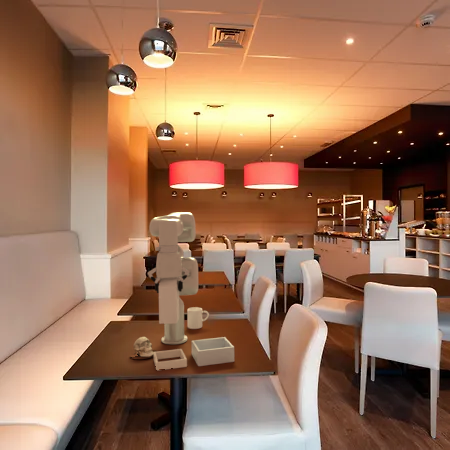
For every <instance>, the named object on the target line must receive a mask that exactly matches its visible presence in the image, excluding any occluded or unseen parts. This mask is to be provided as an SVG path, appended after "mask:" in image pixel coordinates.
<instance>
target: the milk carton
mask: <svg viewBox="0 0 450 450" xmlns="http://www.w3.org/2000/svg"><path fill="white" fill-rule="evenodd" d="M158 283H159V293H158V324H160V325H161V324H174V323H177V322H178V320H179V297H180V295H179V282H178V277H177V278H160V280H159V281H158Z"/></svg>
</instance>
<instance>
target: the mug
mask: <svg viewBox="0 0 450 450" xmlns="http://www.w3.org/2000/svg"><path fill="white" fill-rule="evenodd" d="M186 311H187V315H186V316H187V329H191V330H197V329H201V328H203V322H205V321H206V320H208V318H209V316H210V313H209V312H208V311H207V310H203V308H202V307H198V306H195V307H194V306H193V307H189V308H187V310H186ZM203 313H205V314H206V317H205V318H203Z"/></svg>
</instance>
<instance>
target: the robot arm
mask: <svg viewBox="0 0 450 450" xmlns="http://www.w3.org/2000/svg"><path fill="white" fill-rule="evenodd" d="M196 229H197V228H196V220H195V216H194V214H193V213H191V212H171V213H169V214H168V215H163V216H157V217H154V218H152V219H151V220H150V222H149V233H150V234H151V236H152V237H155V238H156V237H158V246H156V247H155V251H158V252H157V256H156V265H155V267H154V268H152V269H151V270H149V271H148V272H147V276H148V277H149V278H150V280H151V281H152V282H153V283H154V291H155V292H156V294H159V282H160V278H177V277H178V282H179V320H178V322H177V323H174V324H164V325H163V326H164V336H162V337H161V338H160V339H161V343H163V344H165V345H181V344H184V343H185V342H187V341H188V336H187V335H185V305H184V304H185V303H184V301H183V300H182V299H181V297H180V296H193V295H197V293H198V291H199V264H198V259H196V258H195V257H185V256H184V250H183V248H182V247H181V246H180V245H179V244H178V243H186V242H187V243H188V242H189V243H191V242H193V241H195V239H196V235H197V233H196V232H197V230H196ZM154 273H155V276H156V277H154V276H153V274H154Z"/></svg>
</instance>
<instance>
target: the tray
mask: <svg viewBox="0 0 450 450" xmlns="http://www.w3.org/2000/svg"><path fill="white" fill-rule="evenodd" d="M179 357H180V358H179ZM170 358H171V359H172V360H163V359H170ZM173 358H179V359H173ZM159 360H162V361H159ZM153 362H154V367H155V366H156V367H155V370H157V371H160V370H159V369H165V370H171V368H173V369H179V368H187V366H188V359H187V356H186V354H185V353H184V351H183V348H177V349H176V348H175V349H169V350H160V351H157V352H153Z"/></svg>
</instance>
